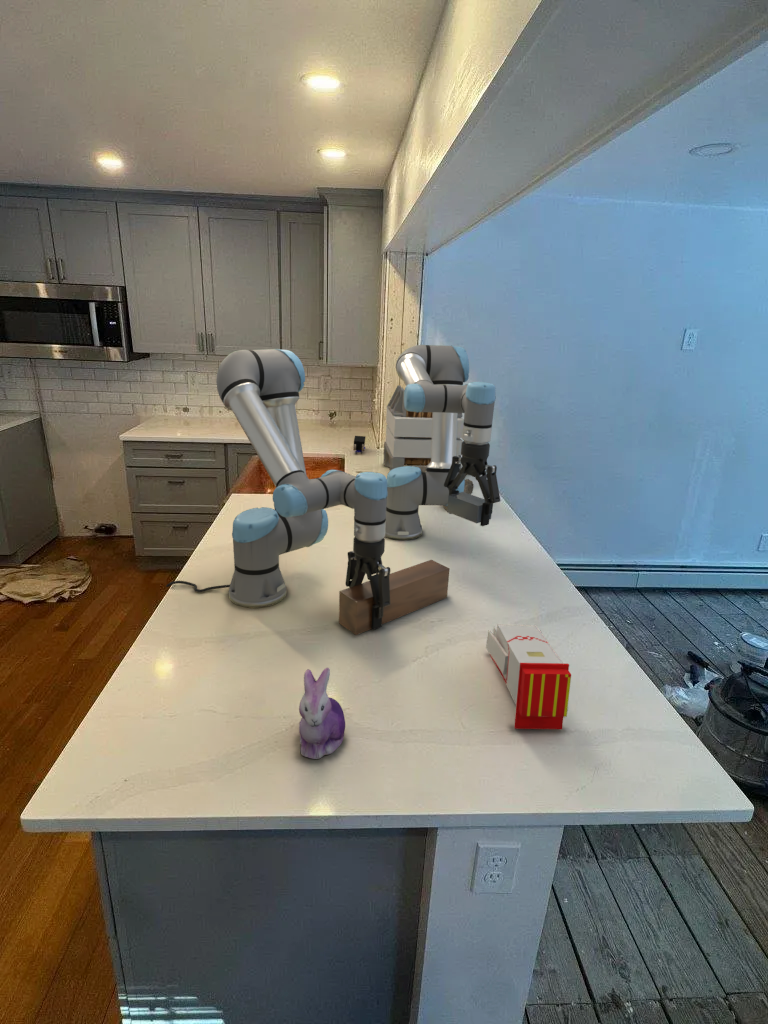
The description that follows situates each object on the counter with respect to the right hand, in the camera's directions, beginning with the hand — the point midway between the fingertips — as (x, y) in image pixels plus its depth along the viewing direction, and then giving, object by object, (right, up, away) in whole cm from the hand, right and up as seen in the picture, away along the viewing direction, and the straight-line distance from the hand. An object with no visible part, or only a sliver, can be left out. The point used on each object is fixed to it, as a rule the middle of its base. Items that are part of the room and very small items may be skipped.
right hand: (468, 518), depth 159 cm
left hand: (-28, -26, -16) cm, 41 cm away
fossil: (+6, +5, +75) cm, 75 cm away
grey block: (0, +1, 0) cm, 1 cm away
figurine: (-35, -40, -56) cm, 77 cm away
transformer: (-6, +21, +116) cm, 118 cm away
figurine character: (-37, +35, +152) cm, 160 cm away
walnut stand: (-21, -24, -9) cm, 33 cm away
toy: (+5, -35, -37) cm, 52 cm away
